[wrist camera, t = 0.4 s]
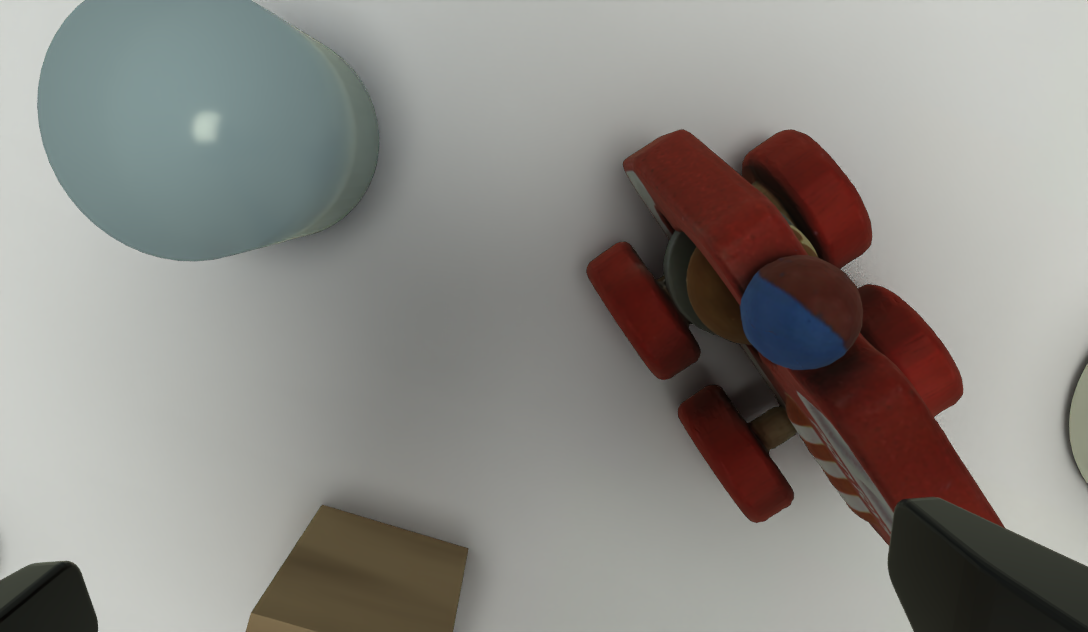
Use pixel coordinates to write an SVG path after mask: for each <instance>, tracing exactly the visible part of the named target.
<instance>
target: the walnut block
mask: <svg viewBox="0 0 1088 632" xmlns="http://www.w3.org/2000/svg"><path fill="white" fill-rule="evenodd" d="M467 553H468V548H465V547H462V546H458V545H455V544H452V543H448V542H445V541H442V540H438V539H435V538H432V537H428V536H425V535H422V534H418V533H415V532H412V531H408V530H405V529H402V528H398V527H395V526H392V525H388V524H385V523H382V522H378V521H375V520H372V519H368V518H365V517H362V516H358V515H355V514H351V513H348V512H345V511H341V510H338V509H335V508H331V507H328V506H325V505H321V507H320V508H319V510H318V511H317V513H316V515H315V516H314V518H313V519H312V521H311V522H310V524H309V525H308V527H307V528H306V530H305V531H304V533H303V534H302V536H301V537H300V539H299V540H298V542H297V543H296V545H295V547H294V548H293V550H292V551H291V553H290V554H289V556H288V557H287V559H286V560H285V562H284V563H283V565H282V566H281V568H280V569H279V571H278V572H277V574H276V576H275V577H274V579H273V580H272V582H271V583H270V585H269V586H268V588H267V589H266V591H265V592H264V594H263V595H262V597H261V598H260V600H259V601H258V603H257V604H256V606H255V608H254V609H253V611H252V612H251V615H250V618H249V622H248V625H247V629H246V632H453V629H454V623H455V618H456V612H457V607H458V602H459V596H460V591H461V586H462V580H463V575H464V569H465V564H466V559H467Z"/></svg>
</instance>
